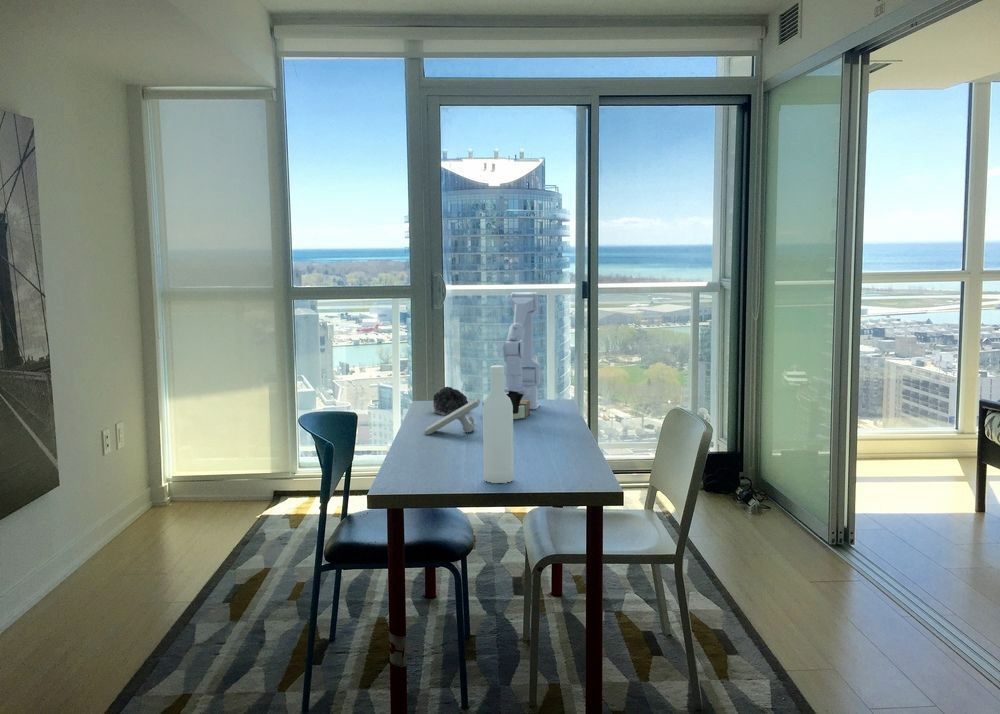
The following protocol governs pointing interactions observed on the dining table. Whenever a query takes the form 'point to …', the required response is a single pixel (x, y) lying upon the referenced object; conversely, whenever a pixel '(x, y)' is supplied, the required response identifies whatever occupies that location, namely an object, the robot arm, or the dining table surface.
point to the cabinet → (525, 403)
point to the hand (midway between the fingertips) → (514, 413)
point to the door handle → (456, 415)
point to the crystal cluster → (448, 401)
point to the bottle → (498, 431)
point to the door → (520, 413)
